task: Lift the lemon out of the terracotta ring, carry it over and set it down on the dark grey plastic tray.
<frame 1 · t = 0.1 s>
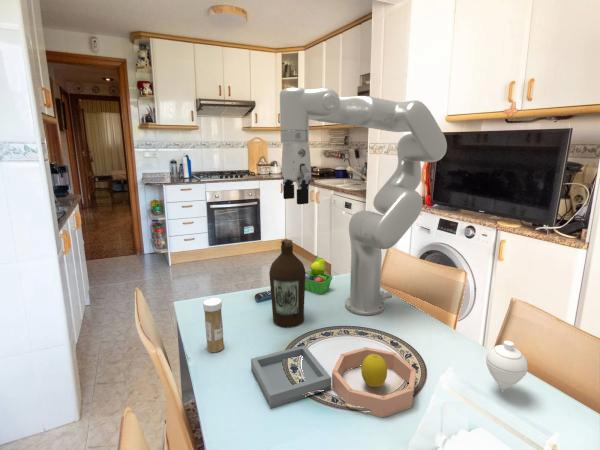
hand: (295, 201, 101), 37 cm above the table, tool pointing down, fingers open, 9 cm apart
terracotta ring: (373, 386, 81), on the table
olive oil: (288, 320, 110), on the table
spinning top: (502, 393, 78), on the table
grey tray: (289, 379, 83), on the table
lemon: (373, 387, 81), resting in terracotta ring
sprinkles bottle: (215, 348, 96), on the table
fruit basket: (315, 289, 133), on the table
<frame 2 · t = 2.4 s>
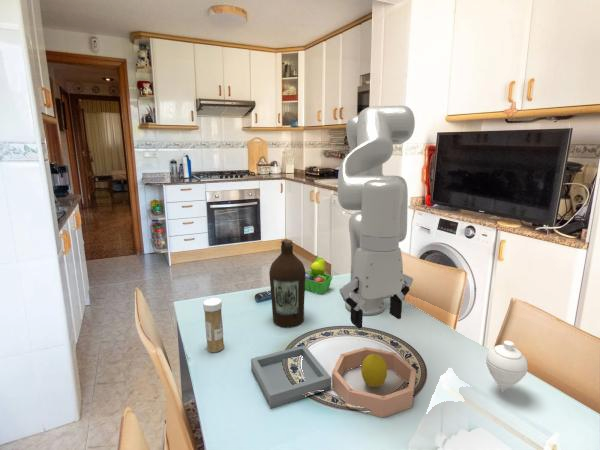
hand: (376, 320, 76), 16 cm above the table, tool pointing down, fingers open, 9 cm apart
nothing on the table moved.
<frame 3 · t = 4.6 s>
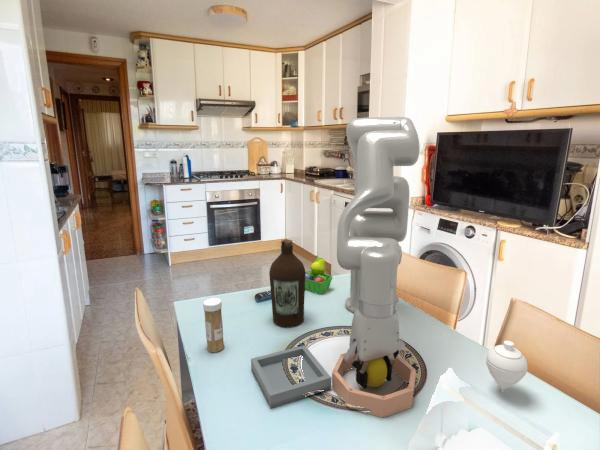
hand: (373, 380, 80), 2 cm above the table, tool pointing down, fingers closed on lemon, 5 cm apart
lemon: (373, 387, 81), resting in terracotta ring, touching gripper
everything else where it was.
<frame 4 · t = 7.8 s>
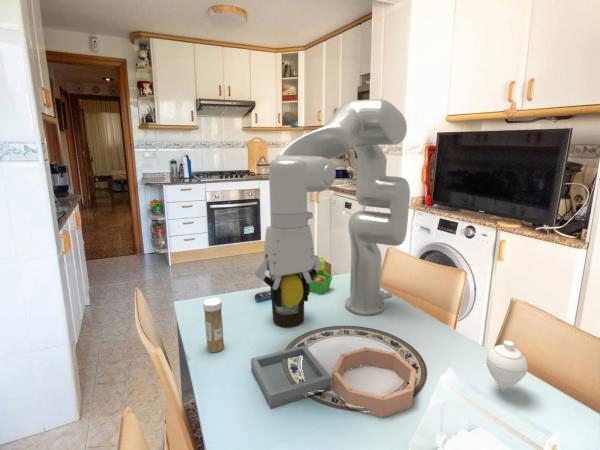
hand: (290, 300, 79), 19 cm above the table, tool pointing down, fingers closed on lemon, 5 cm apart
lemon: (290, 308, 79), point 18 cm above the table, touching gripper
everything else where it was.
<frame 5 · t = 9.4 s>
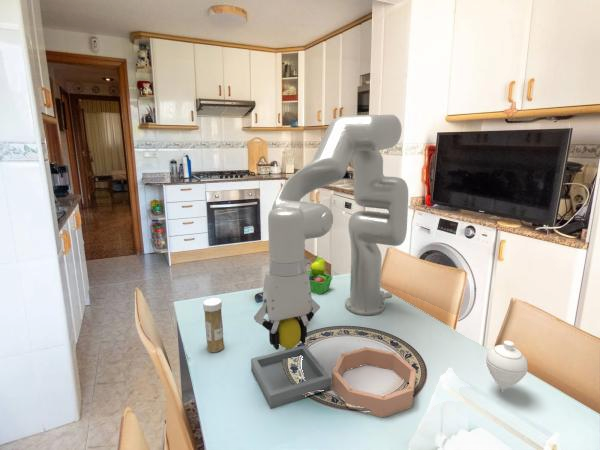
hand: (288, 342, 81), 9 cm above the table, tool pointing down, fingers closed on lemon, 5 cm apart
lemon: (288, 349, 81), point 8 cm above the table, touching gripper
everything else where it was.
when the fingers open (4 cm above the table, at t = 11.1 s): lemon drops 2 cm, resting on grey tray.
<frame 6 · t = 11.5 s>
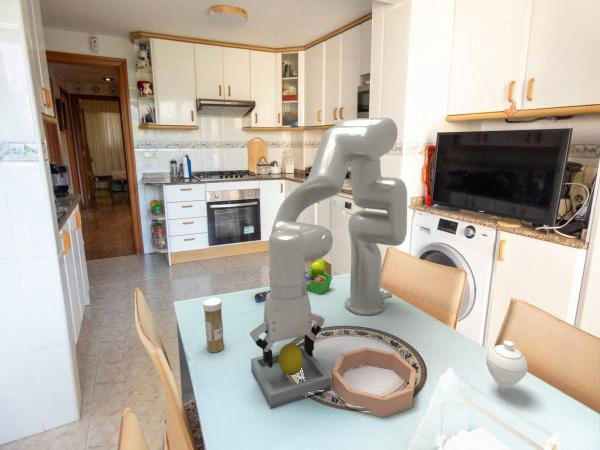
hand: (289, 358, 82), 5 cm above the table, tool pointing down, fingers open, 9 cm apart
lemon: (291, 375, 83), point 1 cm above the table, touching grey tray
everything else where it was.
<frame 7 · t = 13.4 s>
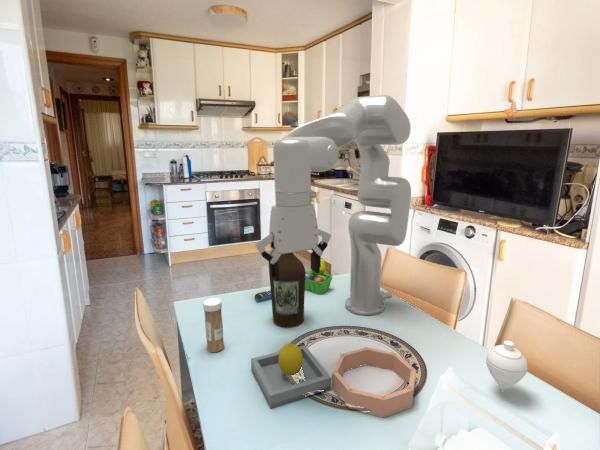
hand: (295, 274, 81), 24 cm above the table, tool pointing down, fingers open, 9 cm apart
nothing on the table moved.
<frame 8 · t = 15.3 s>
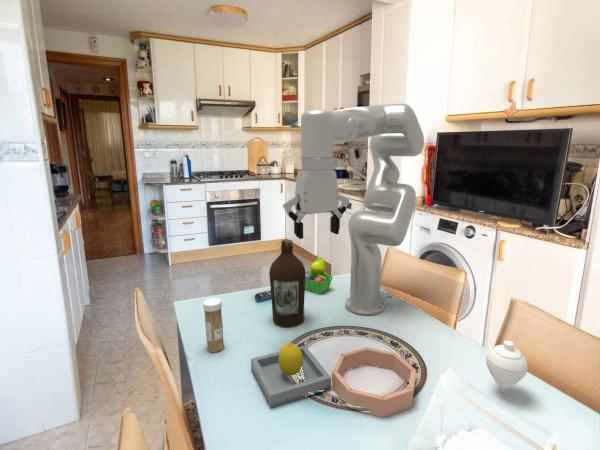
hand: (317, 235, 90), 30 cm above the table, tool pointing down, fingers open, 9 cm apart
nothing on the table moved.
at the end: lemon inside the target area on the grey tray (0.4 cm from its centre), point 0.8 cm above the grey tray's base; the gripper is holding nothing; lemon touching grey tray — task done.
